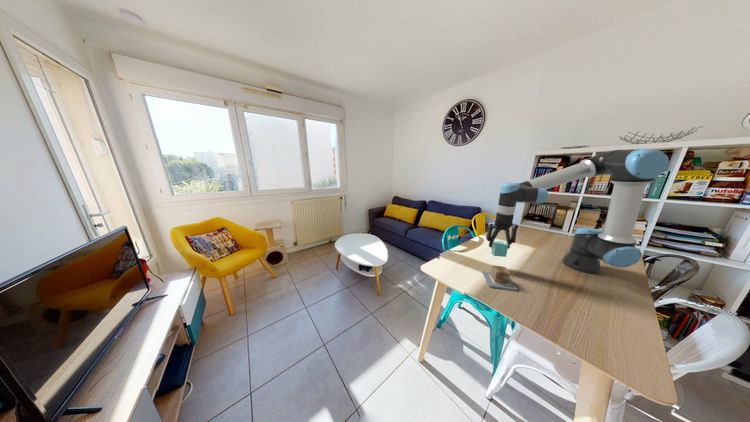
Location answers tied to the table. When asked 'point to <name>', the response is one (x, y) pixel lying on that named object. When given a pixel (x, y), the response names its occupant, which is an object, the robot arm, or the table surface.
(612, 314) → the table surface
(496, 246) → the teal block
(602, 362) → the table surface
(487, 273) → the build pad
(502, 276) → the walnut block
